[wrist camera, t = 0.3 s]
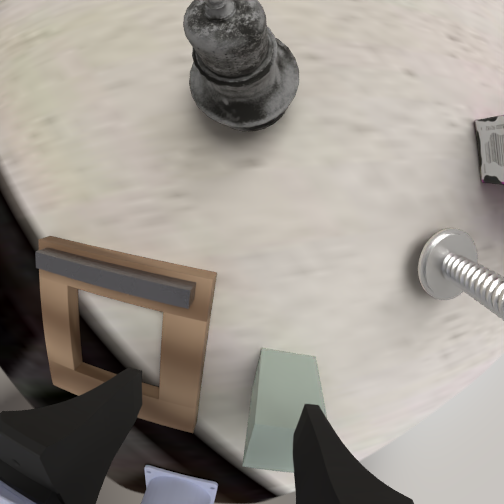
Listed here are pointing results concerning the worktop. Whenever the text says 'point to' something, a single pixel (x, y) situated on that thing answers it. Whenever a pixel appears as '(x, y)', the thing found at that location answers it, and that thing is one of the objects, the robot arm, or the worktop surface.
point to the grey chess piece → (238, 64)
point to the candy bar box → (491, 149)
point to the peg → (279, 407)
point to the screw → (459, 271)
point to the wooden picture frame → (174, 318)
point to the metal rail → (118, 277)
